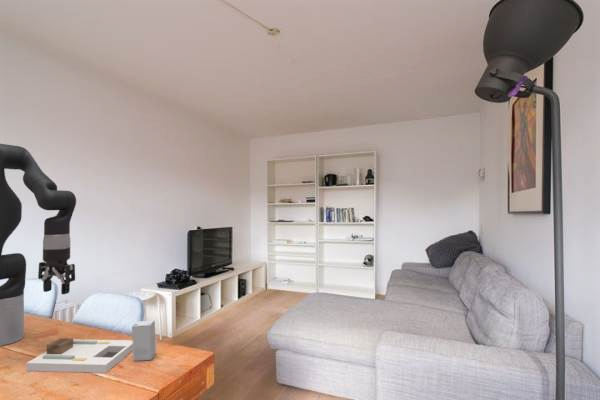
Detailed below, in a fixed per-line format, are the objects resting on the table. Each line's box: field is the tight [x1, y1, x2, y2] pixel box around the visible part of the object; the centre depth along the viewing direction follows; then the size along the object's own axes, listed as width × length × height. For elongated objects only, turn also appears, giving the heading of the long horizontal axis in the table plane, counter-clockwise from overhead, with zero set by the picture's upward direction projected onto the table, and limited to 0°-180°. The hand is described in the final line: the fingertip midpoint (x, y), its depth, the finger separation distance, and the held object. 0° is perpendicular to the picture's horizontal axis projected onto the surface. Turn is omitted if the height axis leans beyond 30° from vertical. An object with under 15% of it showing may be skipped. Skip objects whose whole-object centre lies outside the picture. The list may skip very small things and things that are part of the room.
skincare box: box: [131, 320, 157, 362], centre depth 101 cm, size 6×4×12 cm
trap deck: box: [25, 338, 133, 374], centre depth 101 cm, size 26×16×3 cm, turn 87°
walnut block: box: [46, 337, 74, 354], centre depth 101 cm, size 5×5×3 cm
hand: (56, 292), depth 104 cm, fingers open, 8 cm apart
